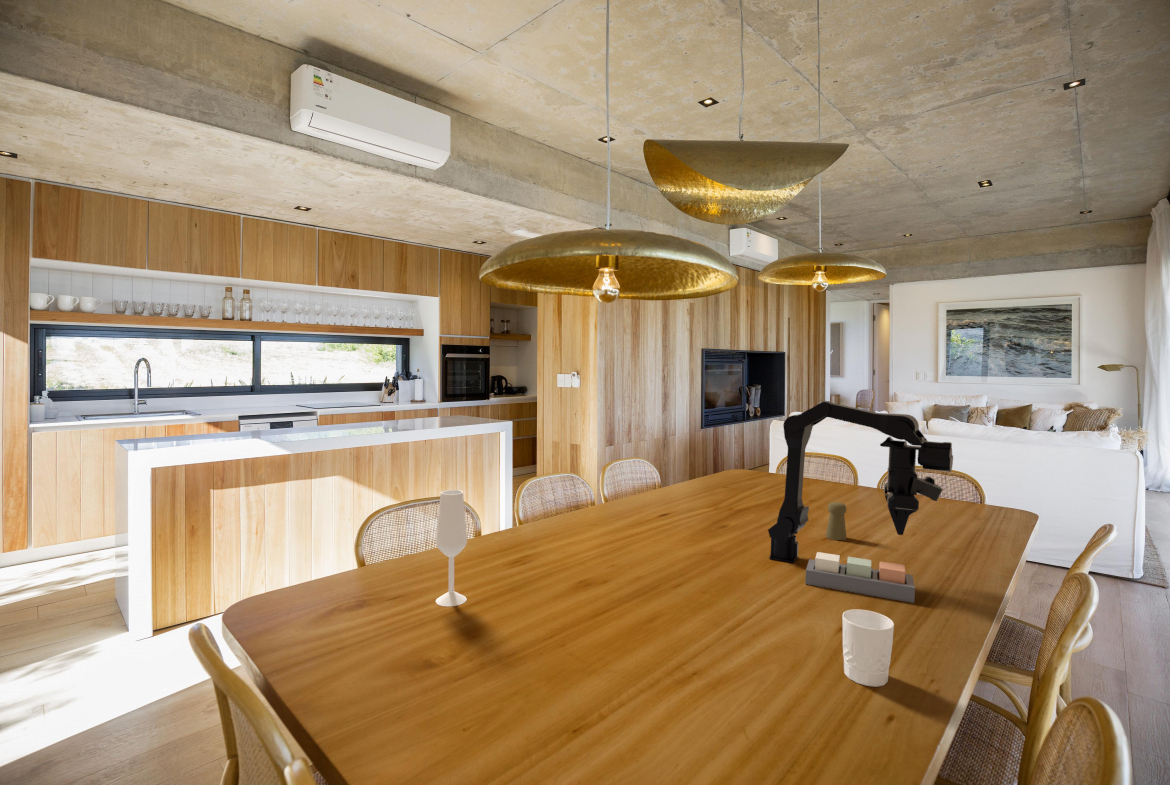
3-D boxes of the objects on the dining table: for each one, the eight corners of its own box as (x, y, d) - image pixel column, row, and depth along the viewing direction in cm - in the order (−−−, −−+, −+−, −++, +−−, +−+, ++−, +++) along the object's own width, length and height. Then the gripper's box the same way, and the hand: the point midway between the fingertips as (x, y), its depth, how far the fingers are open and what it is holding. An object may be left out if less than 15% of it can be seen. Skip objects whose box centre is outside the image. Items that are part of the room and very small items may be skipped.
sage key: (846, 579, 137) (846, 562, 137) (847, 572, 142) (847, 556, 142) (870, 583, 135) (871, 566, 135) (870, 576, 140) (871, 560, 139)
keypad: (805, 584, 140) (805, 569, 139) (808, 572, 148) (809, 559, 148) (914, 603, 129) (914, 587, 129) (911, 589, 137) (912, 575, 137)
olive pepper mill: (848, 541, 175) (850, 505, 174) (827, 540, 176) (829, 504, 175) (844, 535, 181) (845, 501, 180) (823, 534, 182) (825, 499, 181)
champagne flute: (439, 608, 122) (440, 496, 121) (432, 597, 128) (432, 490, 127) (470, 603, 125) (471, 494, 124) (462, 592, 131) (462, 487, 130)
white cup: (831, 664, 102) (833, 609, 101) (873, 663, 103) (876, 608, 102) (856, 690, 94) (858, 630, 94) (901, 688, 95) (904, 629, 94)
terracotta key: (879, 584, 134) (879, 567, 134) (878, 577, 139) (879, 561, 139) (904, 589, 132) (905, 571, 132) (903, 581, 137) (904, 564, 136)
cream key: (814, 574, 140) (815, 558, 140) (816, 567, 145) (817, 551, 145) (837, 578, 138) (838, 561, 138) (839, 571, 143) (839, 555, 143)
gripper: (946, 476, 128) (942, 545, 129) (935, 463, 145) (932, 524, 146) (889, 471, 133) (886, 538, 133) (885, 459, 150) (882, 519, 150)
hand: (898, 529), depth 141 cm, fingers open, 9 cm apart
